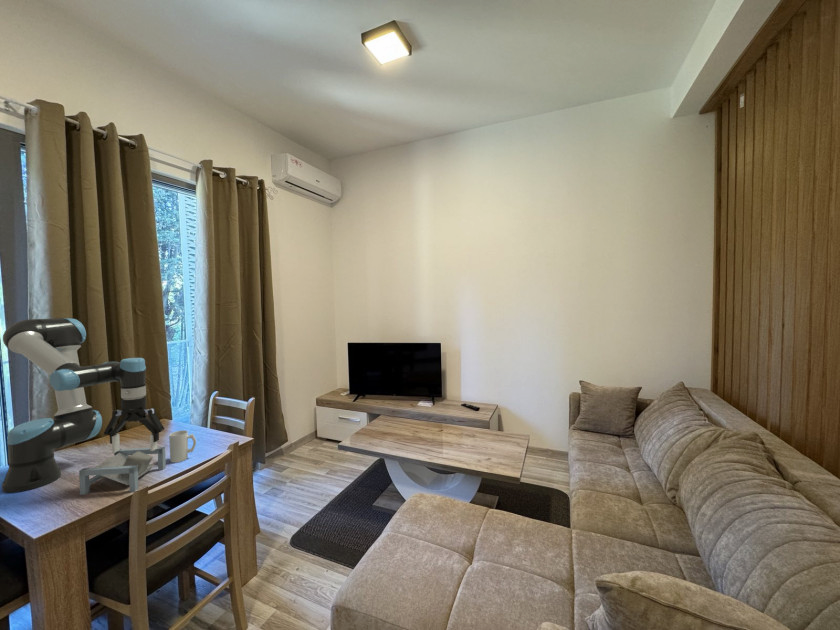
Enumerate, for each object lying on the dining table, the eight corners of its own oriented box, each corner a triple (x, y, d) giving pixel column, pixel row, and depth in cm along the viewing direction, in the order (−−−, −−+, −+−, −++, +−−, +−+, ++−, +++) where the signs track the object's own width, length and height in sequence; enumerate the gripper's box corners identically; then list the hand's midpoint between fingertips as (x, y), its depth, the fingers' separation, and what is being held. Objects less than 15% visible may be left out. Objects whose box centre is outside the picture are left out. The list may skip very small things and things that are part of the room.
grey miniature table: (79, 494, 122) (79, 470, 122) (118, 470, 141) (117, 449, 140) (135, 491, 125) (134, 467, 125) (165, 467, 143) (165, 446, 143)
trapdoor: (90, 471, 125) (91, 468, 125) (118, 454, 138) (119, 452, 138) (127, 485, 126) (129, 483, 126) (152, 467, 140) (153, 465, 140)
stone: (120, 471, 129) (127, 457, 129) (131, 464, 135) (138, 451, 135) (135, 477, 130) (142, 463, 130) (146, 470, 136) (152, 456, 136)
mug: (167, 464, 146) (166, 436, 146) (172, 457, 153) (172, 431, 152) (193, 460, 150) (193, 434, 149) (198, 454, 156) (198, 428, 156)
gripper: (90, 401, 127) (91, 456, 127) (162, 399, 130) (163, 452, 131) (106, 395, 134) (107, 448, 135) (173, 393, 137) (174, 444, 138)
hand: (135, 450), depth 133 cm, fingers open, 13 cm apart
